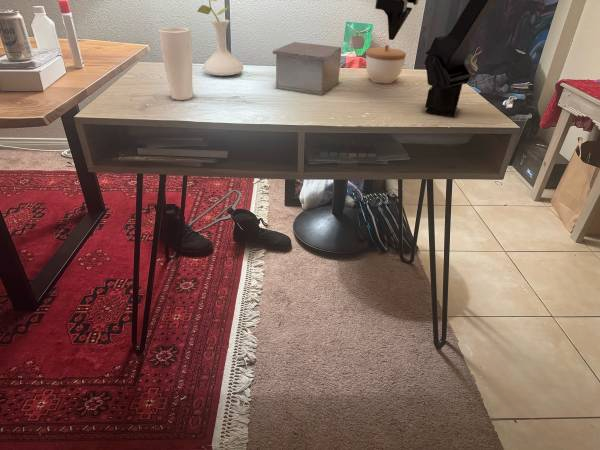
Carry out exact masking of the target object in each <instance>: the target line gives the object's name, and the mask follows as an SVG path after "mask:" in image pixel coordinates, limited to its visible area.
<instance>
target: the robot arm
mask: <svg viewBox="0 0 600 450" xmlns="http://www.w3.org/2000/svg"><path fill="white" fill-rule="evenodd" d="M497 1H498V0H468V1H467V3H466V5H465V6H464V8H463V10H462V11H461V13H460V15H459V17H458V18H457V19H456V21H455V23H454V25H453V26H452V28H451V29H450V31H449V33H447V34H446V35H439V36H435V38H434V39H433V40H432V43H431V46H430V47H429V49H428V50H427V51H426V52H425V55H426V56H425V59H424V66H425V71H426V79H427V85H428V86H430V87H429V89H428V90H427V95H426V99H425V100H426V101H425V106H424V108H426V109H425V113H428V114H432V115H433V114H434V115H439V116H446V117H452V118H453V117H456V115H457V111H458V108H459V107H458V104H459V100H460V96H461V92H462V88H463V85H467V84H468V83H469V81H470V79H471V77H472V74H471V72H470V70H469V69H468V67H467V64H466V63H465V62H466V60H467V58H468V55H469V51H470V45H471V41H472V39H474V36H475V35H476V34H477V32H478V30H479V29H480V27H481V26H482V24H483V23H484V21H485V20H486V18H487V17H488V15H489V13H490V12H491V11H492V9H493V8H494V6H495V4H496V3H497ZM408 4H412V5H413V6H417V5H418V4H419V0H375V6H374V9H376V10H382V11H383V12H384V14H385V15H386V16H387V31H388V33H387V34H388V40H390V41H394V40H395V38H396V37H397V35H398V33H399V32H400V30H401V28H402V27H403V25H404V24H405V22H406V20H407V18H408V17H409V15H410V13H411V12H412V10H413V8H412V7H408Z"/></svg>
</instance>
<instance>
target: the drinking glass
mask: <svg viewBox="0 0 600 450" xmlns="http://www.w3.org/2000/svg"><path fill="white" fill-rule="evenodd" d="M191 35H192V34H191V29H189V28H188V27H184V26H166V27H161V28H158V38H159V45H160V51H161V56H162V61H163V66H164V70H165V75H166V79H167V84H168V89H169V95H170V98H171V99H173V100H176V101H187V100H190V99H193V98H194V85H193V79H194V78H193V46H192V45H193V44H192V36H191Z"/></svg>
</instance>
